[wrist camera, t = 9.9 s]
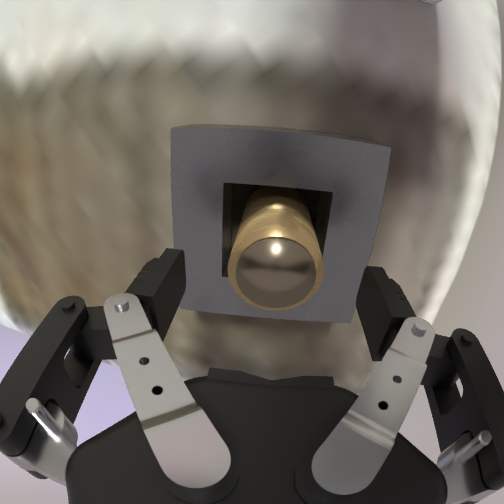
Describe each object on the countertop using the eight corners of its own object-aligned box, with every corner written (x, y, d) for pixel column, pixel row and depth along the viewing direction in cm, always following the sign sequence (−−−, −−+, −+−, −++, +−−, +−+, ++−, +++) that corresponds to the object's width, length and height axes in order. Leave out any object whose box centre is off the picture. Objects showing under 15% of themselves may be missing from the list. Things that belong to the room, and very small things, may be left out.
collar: (191, 124, 18) (170, 128, 14) (369, 140, 17) (391, 147, 14) (193, 278, 23) (179, 308, 20) (340, 291, 23) (350, 322, 19)
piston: (246, 180, 19) (227, 226, 12) (311, 186, 19) (332, 235, 12) (243, 239, 21) (226, 310, 14) (303, 244, 21) (315, 317, 14)
